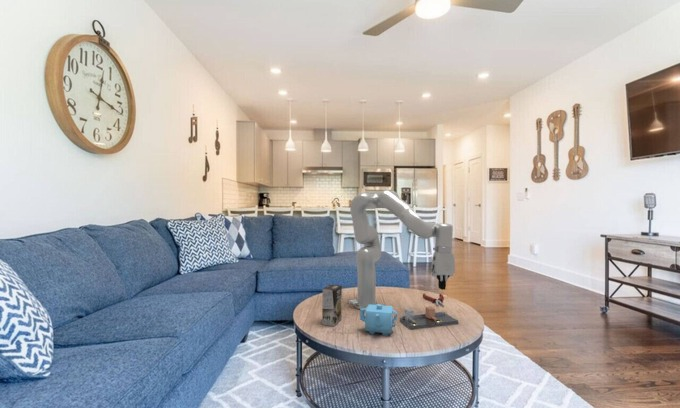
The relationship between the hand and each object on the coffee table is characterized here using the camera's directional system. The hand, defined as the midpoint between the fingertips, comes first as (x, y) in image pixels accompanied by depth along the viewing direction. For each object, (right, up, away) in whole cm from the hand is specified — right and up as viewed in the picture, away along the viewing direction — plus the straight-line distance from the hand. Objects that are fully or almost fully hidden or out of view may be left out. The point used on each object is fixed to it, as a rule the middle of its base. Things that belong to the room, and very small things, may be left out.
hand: (441, 288), depth 146 cm
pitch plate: (-8, -14, -4) cm, 17 cm away
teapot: (-32, -14, -15) cm, 38 cm away
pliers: (+4, -15, +28) cm, 32 cm away
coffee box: (-52, -15, -4) cm, 54 cm away
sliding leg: (-6, -12, -4) cm, 14 cm away
